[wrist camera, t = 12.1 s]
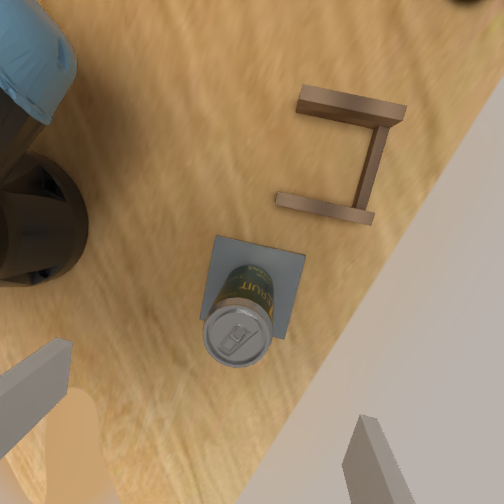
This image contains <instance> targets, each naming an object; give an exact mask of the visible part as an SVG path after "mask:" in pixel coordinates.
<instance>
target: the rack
mask: <svg viewBox="0 0 504 504" xmlns="http://www.w3.org/2000/svg"><path fill="white" fill-rule="evenodd" d="M406 108H407V106H406V105H401V104H396V103H391V102H386V101H382V100H377V99H372V98H367V97H362V96H358V95H353V94H348V93H343V92H338V91H334V90H329V89H324V88H319V87H314V86H310V85H305V84H303V85H302V89H301V92H300V96H299V100H298V105H297V109H296V112H297V113H302V114H306V115H311V116H316V117H320V118H325V119H330V120H335V121H339V122H344V123H349V124H354V125H358V126H363V127H368V128H372V129H374V132H373V135H372V139H371V142H370V146H369V149H368V153H367V156H366V160H365V164H364V167H363V171H362V174H361V178H360V181H359V185H358V188H357V192H356V196H355V199H354V203H353V206H352V208H351V207H346V206H342V205H337V204H332V203H328V202H323V201H319V200H314V199H310V198H305V197H301V196H296V195H292V194H287V193H282V192H277V197H276V201H275V205H280V206H284V207H289V208H293V209H298V210H302V211H307V212H311V213H316V214H320V215H325V216H329V217H334V218H338V219H343V220H347V221H352V222H356V223H361V224H365V225H370V226H371V225H372V222H373V218H374V215H375V213H373V212H369V211H366V208H367V204H368V201H369V197H370V194H371V190H372V187H373V184H374V180H375V177H376V173H377V170H378V166H379V163H380V160H381V156H382V153H383V149H384V146H385V142H386V139H387V136H388V132H389V129H390V127H392V126H394V125H396V124H398V123H399V122H401V121H403V118H404V115H405V111H406Z"/></svg>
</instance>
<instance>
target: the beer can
mask: <svg viewBox="0 0 504 504" xmlns="http://www.w3.org/2000/svg"><path fill="white" fill-rule="evenodd" d="M273 310H274V288H273V282H272V280H271V278H270V276H269V275H268V274H267V273H266V272H265V270H263V269H261V268H259V267H257V266H252V265H245V266H240V267H238V268H236V269H234V270H233V271H232V272H231V273H230V274H229V276H228V277H227V279H226V281H225V283H224V285H223V286H222V288H221V290H220V292H219V294H218V295H217V297H216V299H215V301H214V303H213V305H212V306H211V308H210V310H209V312H208V314H207V315H206V317H205V319H204V325H203V339H204V345H205V347H206V349H207V351H208V353H209V354H210V355H211V356H212V357H213V358H214V359H215V360H216V361H218V362H219V363H221V364H223V365H225V366H229V367H234V368H240V367H247V366H250V365H252V364H255V363H256V362H257V361H259V360H260V359H261V358H262V357H263V356H264V354H265V353H266V351H267V350H268V347H269V346H270V344H271V341H272V336H273Z"/></svg>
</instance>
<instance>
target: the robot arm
mask: <svg viewBox="0 0 504 504" xmlns="http://www.w3.org/2000/svg"><path fill="white" fill-rule="evenodd" d="M76 73H77V60H76V55H75V52H74V50H73V47H72V45H71V43H70V42H69V40H68V39H67V37H66V36H65V34H64V33H63V32H62V30H61V29H60V28H59V27H58V25H57V24H56V23H55V22H54V21H53V19H52V18H51V17H50V16H49V15H48V14H47V13H46V11H45V10H44V9H43V8H42V7H41V6H40V4H39V3H38V2H37V1H36V0H0V287H28V286H34V285H38V284H41V283H44V282H46V281H49V280H52V279H54V278H57V277H59V276H61V275H62V274H64V273H65V272H67V271H68V270H69V269H70V268H71V267H72V266H73V265H74V264H75V263H76V262H77V260H78V259H79V257H80V256H81V254H82V252H83V249H84V247H85V244H86V239H87V233H88V219H87V212H86V208H85V204H84V201H83V199H82V196H81V194H80V192H79V190H78V188H77V187H76V185H75V183H74V182H73V181H72V179H71V178H70V177H69V176H68V174H67V173H66V172H65V171H64V170H63V169H62V168H61V167H59V166H58V165H57V164H56V163H54V162H53V161H51V160H50V159H48V158H46V157H44V156H42V155H40V154H38V153H35V152H32V151H28V150H27V149H28V148H29V147H30V145H31V144H32V142H33V141H34V140H35V138H36V137H37V136H38V134H39V133H40V132H41V131H42V129H43V128H44V127H45V125H47V126H49V125H50V124H51V122H52V121H53V120H54V112H55V110H56V109H57V107H58V106H59V104H60V102H61V101H62V99H63V97H64V96H65V94H66V93H67V91H68V89H69V88H70V86H71V85H72V83H73V81H74V79H75V77H76ZM72 345H73V342H72V341H68V340H64V339H60V338H57V337H56V338H55V339H53V340H52V341H51V342H49V343H48V344H46V345H45V346H43V347H42V348H40V349H39V350H37V351H36V352H34V353H33V354H31V355H30V356H29V357H27V358H26V359H24V360H23V361H21V362H20V363H18V364H17V365H15V366H14V367H12V368H11V369H9V370H8V371H6V372H5V373H4V374H2V375H1V376H0V459H2V458H3V457H4V456H5V455H6V454H7V453H8V452H9V451H10V450H11V449H12V448H13V447H14V446H15V445H16V444H17V443H18V442H19V441H20V440H21V439H22V438H23V437H24V436H25V435H26V434H27V433H28V432H29V431H30V430H31V429H32V428H33V427H34V426H35V425H36V424H37V423H38V422H39V421H40V420H41V419H42V418H43V417H44V416H45V415H46V414H47V413H48V412H49V411H50V410H51V409H52V408H53V407H54V406H55V405H56V404H57V403H58V402H59V401H60V400H61V399H62V398H63V397H64V396H65V395H66V394H67V387H68V379H69V370H70V362H71V353H72ZM342 468H343V472H344V476H345V480H346V484H347V488H348V492H349V495H350V500H351V504H415V501H414V499H413V497H412V495H411V493H410V490H409V488H408V486H407V484H406V481H405V479H404V477H403V475H402V473H401V471H400V468H399V466H398V464H397V462H396V459H395V457H394V455H393V453H392V451H391V448H390V446H389V444H388V442H387V439H386V438H385V435H384V433H383V431H382V428H381V426H380V424H379V422H378V420H377V419H376V418H373V417H368V416H365V415H360V416H359V418H358V421H357V424H356V427H355V430H354V432H353V435H352V438H351V441H350V444H349V446H348V449H347V452H346V454H345V458H344V460H343V463H342Z"/></svg>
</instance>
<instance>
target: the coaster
mask: <svg viewBox="0 0 504 504" xmlns="http://www.w3.org/2000/svg"><path fill="white" fill-rule="evenodd" d="M305 258H306V255H303V254H299V253H294V252H290V251H286V250H281V249H277V248H272V247H268V246H263V245H259V244H255V243H250V242H246V241H241V240H237V239H232V238H228V237H224V236H219V235H216V236H215V242H214V247H213V252H212V257H211V263H210V268H209V273H208V278H207V283H206V289H205V294H204V299H203V304H202V309H201V315H200V320H204V319H205V317H206V315H207V314H208V312H209V310H210V308H211V306H212V305H213V303H214V301H215V299H216V297H217V295H218V294H219V292H220V290H221V288H222V286H223V285H224V283H225V281H226V279H227V277H228V276H229V274H230V273H231V272H232V271H233V270H234V269H236V268H238V267H240V266H245V265H252V266H257V267H259V268H261V269H263V270H265V272H266V273H267V274H268V275H269V276H270V278H271V280H272V282H273V288H274V310H273V336H272V337H276V338H280V339H285V335H286V331H287V327H288V323H289V319H290V316H291V312H292V308H293V304H294V300H295V296H296V292H297V288H298V285H299V281H300V277H301V273H302V269H303V265H304V261H305Z"/></svg>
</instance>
